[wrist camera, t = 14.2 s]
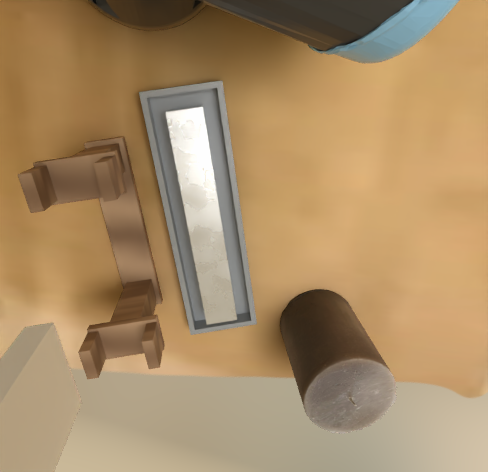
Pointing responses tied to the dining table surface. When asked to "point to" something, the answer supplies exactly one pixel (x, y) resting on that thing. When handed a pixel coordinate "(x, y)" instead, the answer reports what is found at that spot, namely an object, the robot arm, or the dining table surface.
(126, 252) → the rack
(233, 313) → the rail
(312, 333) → the pillar candle
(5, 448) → the robot arm
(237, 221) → the tray
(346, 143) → the dining table surface
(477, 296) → the dining table surface
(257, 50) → the dining table surface
